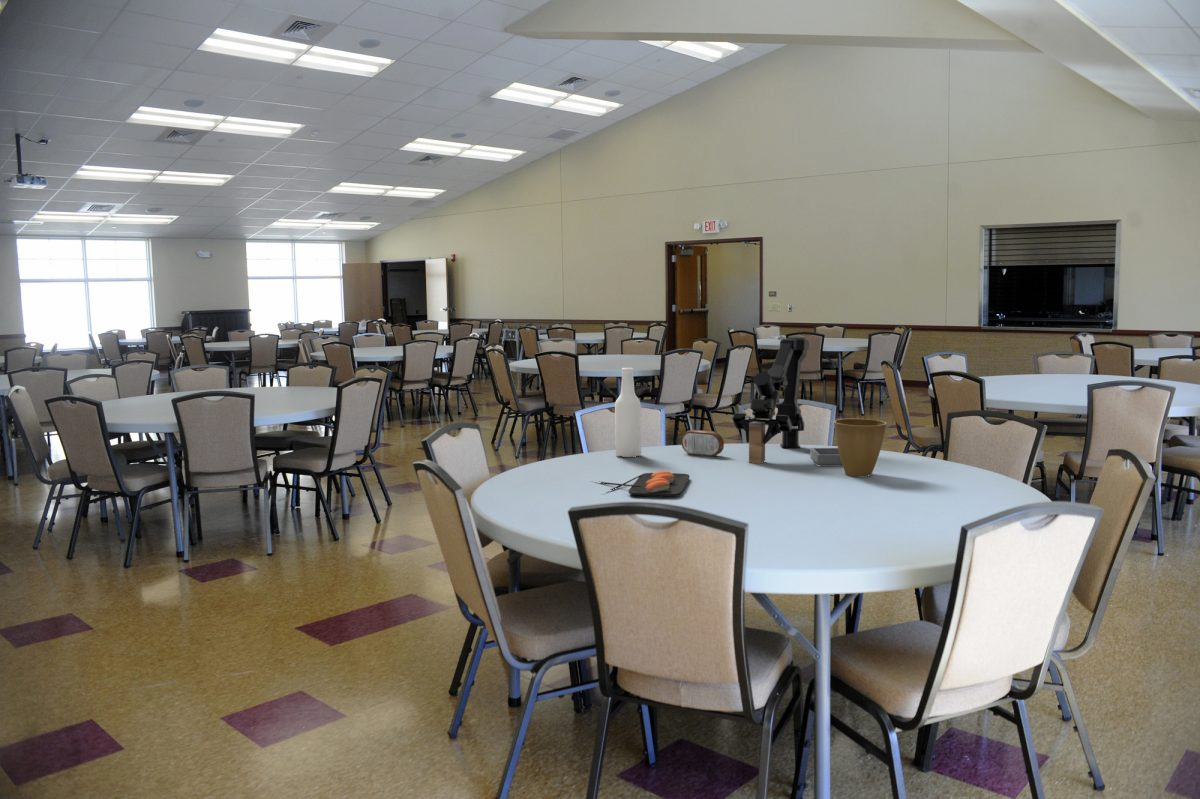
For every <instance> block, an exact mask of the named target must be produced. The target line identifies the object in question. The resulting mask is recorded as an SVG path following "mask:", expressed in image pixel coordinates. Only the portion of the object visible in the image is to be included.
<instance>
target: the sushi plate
mask: <svg viewBox="0 0 1200 799" xmlns="http://www.w3.org/2000/svg"><path fill="white" fill-rule="evenodd" d="M690 477H691V476H690V475H689V474H688V473H679V472H677V473H676V472H675V473H674V472H673V473H672V472H670V471H668V470H667V471H666V470H660V471H656V472H644V473H642V474H640V475H638V476H635V477H634V478H631V479H630V480H628V481H626V482H624V483H616V482H605V481H600V482H601V483H604V484H603V485H611V486H614V487H613V488H610V489H609V490H613V489H615V488H617V489H619V488H621V487H630V488H629V489H628V493H629V494H630V495H636V496H641V497H659V496H665V497H672V496H678V495H681V494H682V493H683V491H684V489H685V487H686V485H687V483H688V482H689V480H690ZM634 480H635V482H634V483H633V484H628V483H630V482H632V481H634ZM618 487H619V488H618ZM615 490H616V489H615ZM613 491H614V490H613Z"/></svg>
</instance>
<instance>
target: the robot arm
mask: <svg viewBox="0 0 1200 799" xmlns="http://www.w3.org/2000/svg"><path fill="white" fill-rule="evenodd" d="M779 342H780V343H779V349H778V352H777V354H776V356H775V360H774V362H773V364H772V367H770V368H769V369H768V370H766V369H765V370H764V369H762V370H761V372H759V373H757V374H756V375H754V377H753V381H752V382H753V384H754V387H755V388H756V391H757V394H758V395H759V396H760V398H751V399H750V400H751V401H750V405H749V406H750V407H749V409H750V410H752V412H751V413H752V416H754V417H751V416H749V415H747V413H746V412H734V413H733V415H732V418H731V419H732V421H733V424H734V426H735V429H737V430H743V431H744V432H745V440H746V444H749V423H750V422H753V421H755V422H765V426H767V430H766V431H765V437H764V441H763V443H764V444H765V445H766V444H767V443H768V442H770V440H771V439H773V438H774V437H775V436H776V435H778V434H781V443H780V444H779V446H780V447H781V448H782V449H800V448H799V447H802V446H801V445H800V444H799V437H800V436H799V434H800V433H799V432H802V431H805V421H804V418H803V415H802V410H801V408H800V406H799V404H798V398H799V397H798V396H799V388H800V380H801V379H800V378H801V370H802V369H801V368H802V362H803V361H804V360H805V359H806V357H807V355H808V351H809V349H810V342H809V340H808V339H807V338H806V337H805V336H798V337H797V336H788V337H787V338H783V339H782V338H781V339H780V341H779ZM779 392H784V394H783V401H782V402H781V403H780V398H779V397H780V395H779ZM778 403H779V404H778ZM777 404H778V406H777ZM776 408H777V412H776ZM774 416H775V418H773V417H774ZM797 447H798V448H797Z"/></svg>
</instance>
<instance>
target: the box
mask: <svg viewBox="0 0 1200 799" xmlns="http://www.w3.org/2000/svg"><path fill="white" fill-rule="evenodd" d="M809 456H810V457H809V459H810V458H811V459H812V460H813V461H814V462H815V463H816V464H817V465H842V461H841V458H840V454H839V450H838V447H810V453H809ZM811 459H810V460H811ZM812 460H811V461H812ZM813 461H812V462H813ZM814 462H813V463H814ZM815 463H814V464H815ZM816 464H815V465H816ZM817 465H816V466H817Z"/></svg>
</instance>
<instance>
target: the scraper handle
mask: <svg viewBox="0 0 1200 799" xmlns="http://www.w3.org/2000/svg"><path fill="white" fill-rule="evenodd" d="M765 434H766V425H765V422H755V421H753V422H750V423H749V443H748V463H749V462H752V463H751V464H757V463H761V464H763V463H762V462H764V461H765V462H766V444H764V443H763V441H764V437H765ZM765 462H764V463H765Z"/></svg>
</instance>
